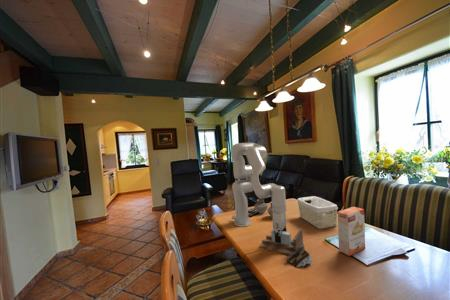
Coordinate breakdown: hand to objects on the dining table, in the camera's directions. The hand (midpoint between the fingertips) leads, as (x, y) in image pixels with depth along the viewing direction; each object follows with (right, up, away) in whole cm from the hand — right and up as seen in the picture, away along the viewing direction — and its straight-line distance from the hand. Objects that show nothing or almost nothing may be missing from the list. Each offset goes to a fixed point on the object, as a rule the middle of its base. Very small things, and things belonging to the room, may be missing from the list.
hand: (281, 238), depth 107 cm
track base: (0, -4, 0) cm, 4 cm away
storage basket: (+34, -2, +28) cm, 44 cm away
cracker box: (+35, -2, -8) cm, 36 cm away
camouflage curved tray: (+5, -5, -16) cm, 17 cm away
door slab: (0, -3, 0) cm, 3 cm away
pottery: (+3, -3, +47) cm, 47 cm away
